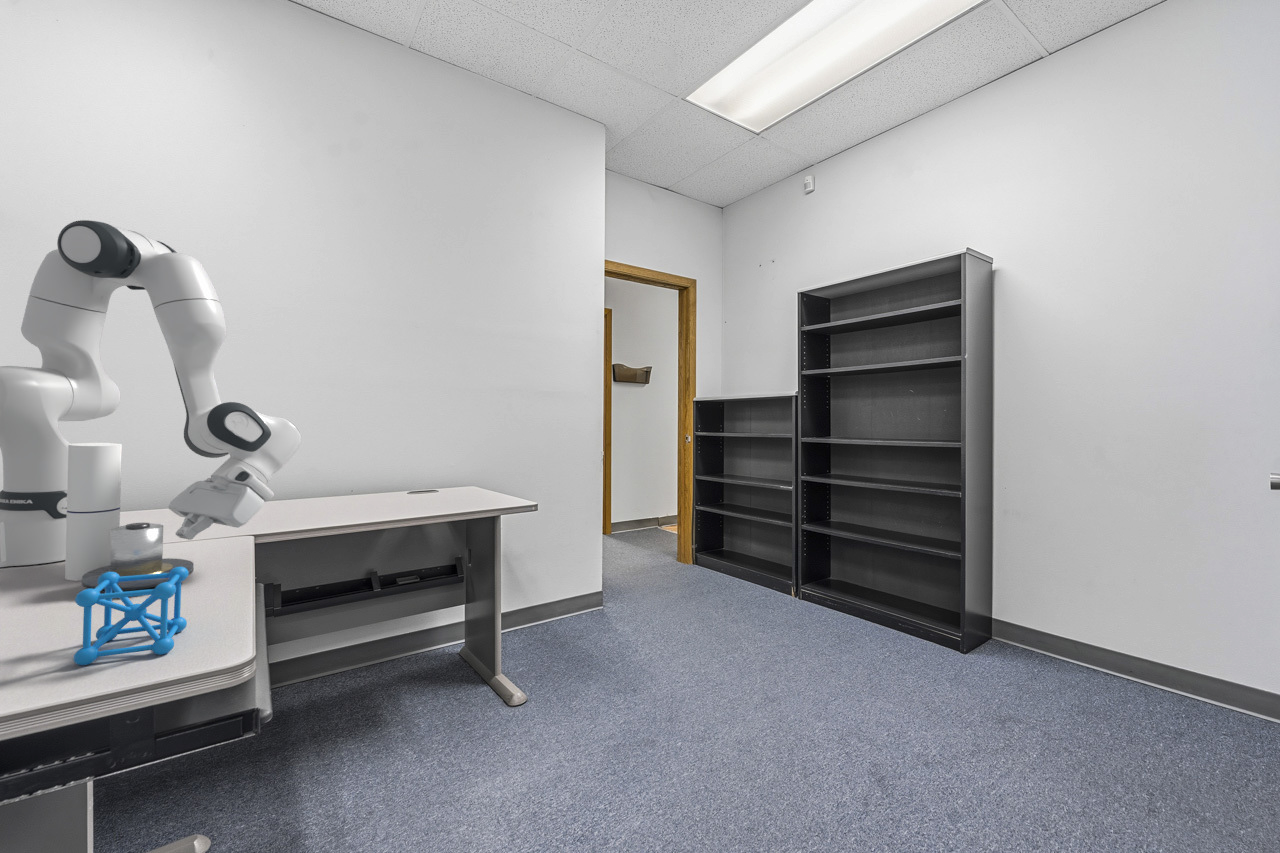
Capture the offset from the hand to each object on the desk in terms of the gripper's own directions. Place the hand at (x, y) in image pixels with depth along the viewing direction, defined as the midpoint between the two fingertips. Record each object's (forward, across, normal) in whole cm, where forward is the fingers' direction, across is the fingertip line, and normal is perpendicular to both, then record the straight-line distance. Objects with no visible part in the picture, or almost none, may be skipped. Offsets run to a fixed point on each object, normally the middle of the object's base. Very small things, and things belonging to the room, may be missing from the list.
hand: (182, 537), depth 105 cm
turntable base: (+10, 0, +1) cm, 10 cm away
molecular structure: (+20, +28, -9) cm, 36 cm away
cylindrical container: (+11, -13, 0) cm, 17 cm away
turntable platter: (+9, 0, 0) cm, 9 cm away
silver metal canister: (+8, 0, -2) cm, 9 cm away
